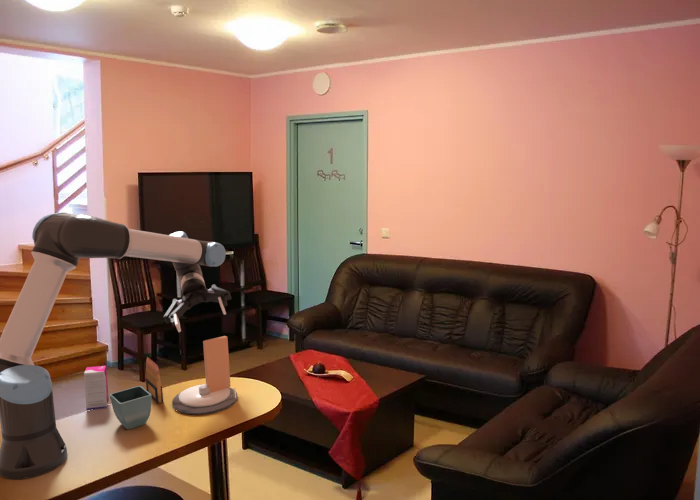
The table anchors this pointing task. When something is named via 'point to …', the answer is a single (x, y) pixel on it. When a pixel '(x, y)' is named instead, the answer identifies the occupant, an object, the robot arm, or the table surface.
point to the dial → (211, 376)
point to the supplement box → (96, 387)
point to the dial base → (207, 409)
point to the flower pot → (132, 406)
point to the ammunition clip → (153, 381)
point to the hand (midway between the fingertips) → (201, 319)
